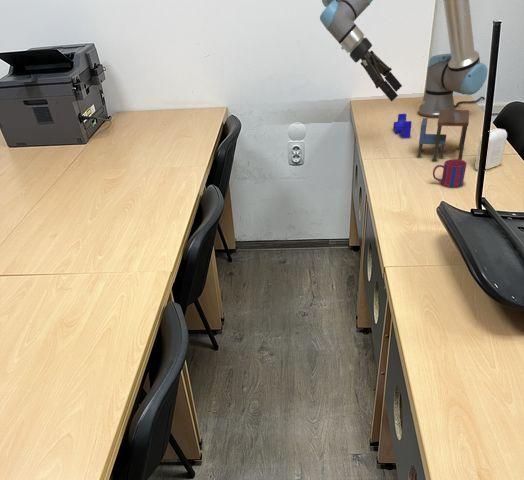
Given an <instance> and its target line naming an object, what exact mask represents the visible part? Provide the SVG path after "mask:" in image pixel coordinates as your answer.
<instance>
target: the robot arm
mask: <svg viewBox="0 0 524 480" xmlns="http://www.w3.org/2000/svg"><path fill="white" fill-rule="evenodd" d="M373 1H374V0H321V3H322V5H323V6H324V7H325V8H324V9H323V10H322V12H321V13H320V15H319V20H320V22H321V23H322V25H323V26H324V28H325V29H326V30H327V31H328V32H329V34H331V35H332V38H334V39H335V40H336V41H337V43H338V44H339V45H340V46H341V47H340V49H341V50H342V51H345V52H346V53H347V54H349V57H350V59H352V61H353V62H354V63H358V62H359V61H360V60H361V62H360V65H361V66H362V68H363V69H364V70H365V72H366V73H367V75H368V76H369V78H370V80H371V81H372V83H373V84H374V87H375V88H376V89H380V90H381V92H382V93H383V94H384V95H385V96H386V97H387V99H388V100H389V101H390V102H393V101H394V100H395V99H396V98H397V97H399V95H398V93H397V92H398V91H399V90H400V89H401V88H402V87H403V85H402V84H401V82H400V81H399V80H398V78H397V77H396V76H395V75H394V74H393V73H392V72H391V71H392V67H389V66H388V65H387V64H386V63H385V62H384V61H383V60H382V59H381V58H380V57H379V56H378V55H376V53H375V52H374V51H373V50H370V49H371V48H372V47H373V43H372V42H371V41H370V40H369V38H367V37H364V36H365V34H364V33H363V31H362V30H361V29H360V28H359V27H358V25H357V24H356V23H355V21H356V20H357V19H358V17H359V16H361V14H362V13H363V12H364V11H365V10H367V8H368V7H369V6H371V3H372V2H373ZM443 9H444V15H445V22H446V29H447V36H448V37H447V38H448V44H449V50H450V51H449V52H450V53H442V54H436V55H432V56H431V57H430V58H429V60H428V66H427V73H426V82H425V91H424V95H423V98H422V101H421V104H420V105H419V107H418V114H419V115H421V116H423V117H425V118H426V117H427V118H434V119H435V118H436V119H438V118H439V113H440V110H456V108H457V107H459V105H460V104H475V103H477V102H479V101H481V100H485V99H486V98H485V96H480V97H479V98H478V99H475V100H464V101H463V100H461V101H458V102H457V103H456V106H455V101H454V93H458V94H461V95H468V96H472V95H475V94H476V93H477V92H479V91H480V90H481V88H482V87H483V86H484V84H485V82H486V80H487V77H488V67H487V65H486V64H484V63H483V62H481V61H480V52H478V50H475V44H474V34H473V25H472V24H473V23H472V16H471V6H470V0H443ZM383 77H384V78H383Z"/></svg>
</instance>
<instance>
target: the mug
mask: <svg viewBox="0 0 524 480" xmlns="http://www.w3.org/2000/svg"><path fill="white" fill-rule="evenodd" d="M438 168H442V175H441V178H438V177H436V174H435V173H436V170H437V169H438ZM466 169H467V162H466V161H465V160H463V159H462V160H458V158H457V159H456V158H453V159H447V160H445V161H444V164H443V165H442V164H438V165H437V164H436V165H435V166H434V168H433V170H432V177H433V178H434V179H435V180H436V181H437V182H441V185H442V186H444V187H446V188H460V187H462V186H463V185H464V182H465V181H464V179H465V174H466Z"/></svg>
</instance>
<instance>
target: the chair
mask: <svg viewBox="0 0 524 480" xmlns="http://www.w3.org/2000/svg"><path fill="white" fill-rule="evenodd" d="M427 125H428V117H427V118H426V117H423V118H422V120H421V124H420V133H419V141H418V150H417V151H418V152H417V158H421V156H422V151H423V147H424V145H434V146H435V143H436V136H437V133H426V132H427V127H428V126H427ZM446 141H447V133H446V134H445V133H443V134H442V133H441V134H440V140H439V146H441V148H440V152H439V153H440V154H439V159H444V151H445V146H446Z"/></svg>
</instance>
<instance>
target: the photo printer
mask: <svg viewBox="0 0 524 480" xmlns="http://www.w3.org/2000/svg"><path fill="white" fill-rule="evenodd" d="M489 131H490V137H489V144H488V152H487V162H486V170H485V171H487V170H489V169H493V168H495V167H498V166H500V165H501V164H502V160H503V156H504V151H505V147H506V143H507V138H508V132H507V131H506V129H504V128H494V129H491V130H489ZM481 140H482V136H481V137H480V139H479V144H478V148H477V154H476V159H475V164H474V169H475V170H477V171H479V170H478V165H479V157H480V149H481Z"/></svg>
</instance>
